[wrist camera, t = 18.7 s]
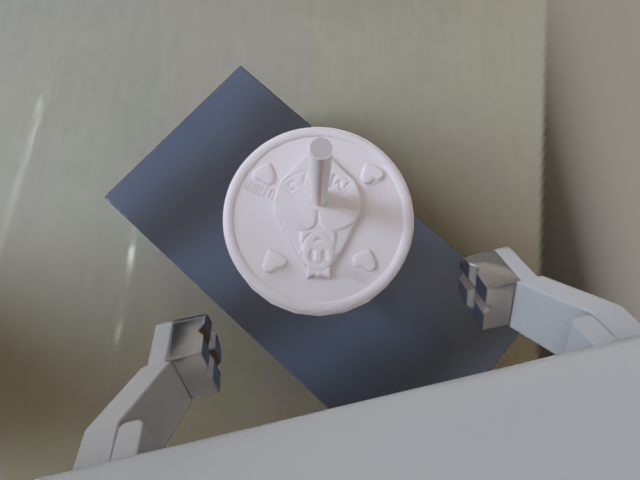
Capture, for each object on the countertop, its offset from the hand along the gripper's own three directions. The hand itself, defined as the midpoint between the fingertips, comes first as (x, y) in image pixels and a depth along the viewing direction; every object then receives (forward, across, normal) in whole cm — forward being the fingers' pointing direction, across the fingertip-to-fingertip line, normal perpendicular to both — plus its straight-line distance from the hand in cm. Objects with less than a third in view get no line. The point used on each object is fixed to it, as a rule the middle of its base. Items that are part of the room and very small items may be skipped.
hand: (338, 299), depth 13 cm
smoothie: (+9, 0, +5) cm, 10 cm away
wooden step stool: (+14, 0, +10) cm, 18 cm away
